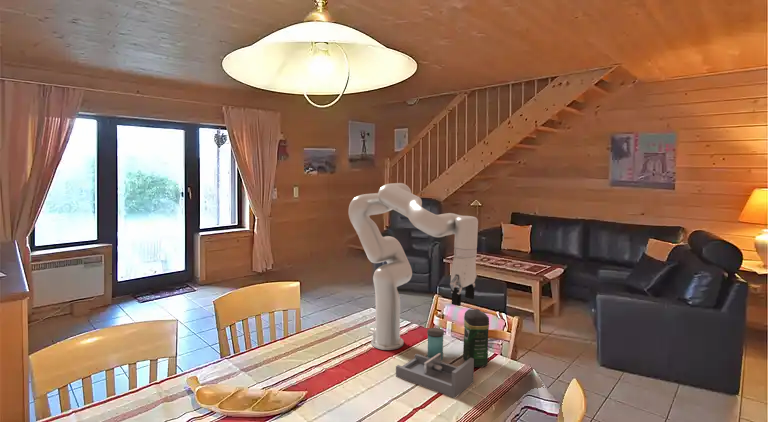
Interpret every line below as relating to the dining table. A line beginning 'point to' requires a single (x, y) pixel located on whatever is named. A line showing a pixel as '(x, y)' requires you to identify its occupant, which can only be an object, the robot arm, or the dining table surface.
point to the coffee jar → (476, 337)
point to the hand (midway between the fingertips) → (463, 301)
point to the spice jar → (435, 342)
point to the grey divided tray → (438, 376)
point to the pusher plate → (433, 365)
